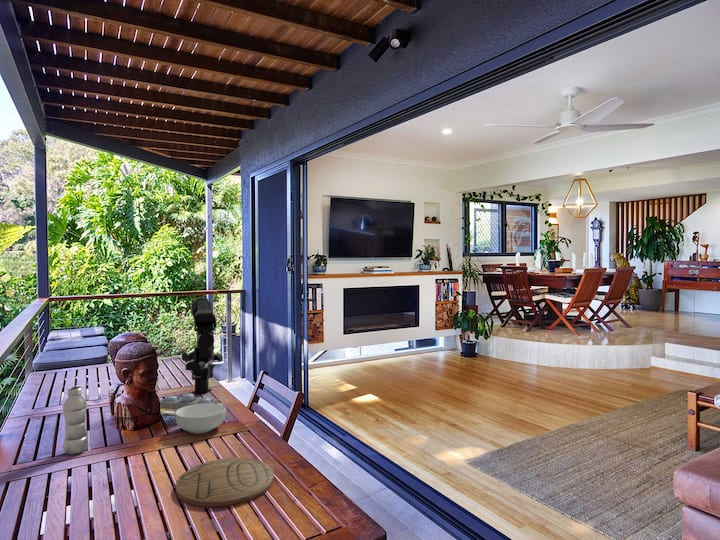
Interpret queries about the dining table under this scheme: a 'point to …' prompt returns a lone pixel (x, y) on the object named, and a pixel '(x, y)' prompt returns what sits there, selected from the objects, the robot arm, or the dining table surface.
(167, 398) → the button
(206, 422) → the cereal bowl
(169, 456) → the dining table surface
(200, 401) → the button
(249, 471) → the trivet
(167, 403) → the board
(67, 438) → the plastic bottle
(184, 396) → the button
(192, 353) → the robot arm
